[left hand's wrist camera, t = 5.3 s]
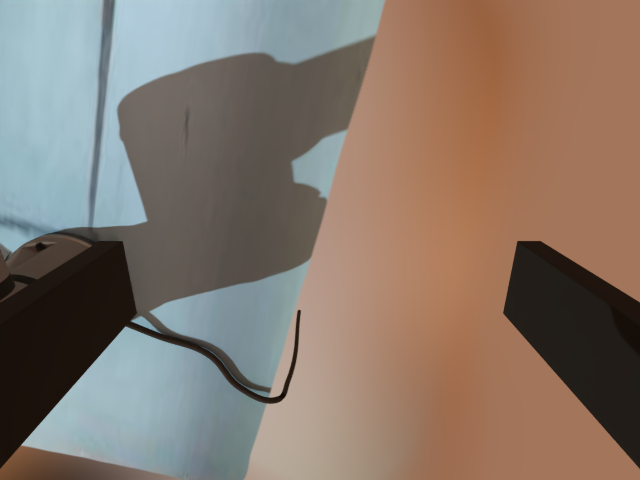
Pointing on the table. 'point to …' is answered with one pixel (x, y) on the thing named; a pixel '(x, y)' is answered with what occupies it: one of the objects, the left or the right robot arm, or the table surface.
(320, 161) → the table surface
